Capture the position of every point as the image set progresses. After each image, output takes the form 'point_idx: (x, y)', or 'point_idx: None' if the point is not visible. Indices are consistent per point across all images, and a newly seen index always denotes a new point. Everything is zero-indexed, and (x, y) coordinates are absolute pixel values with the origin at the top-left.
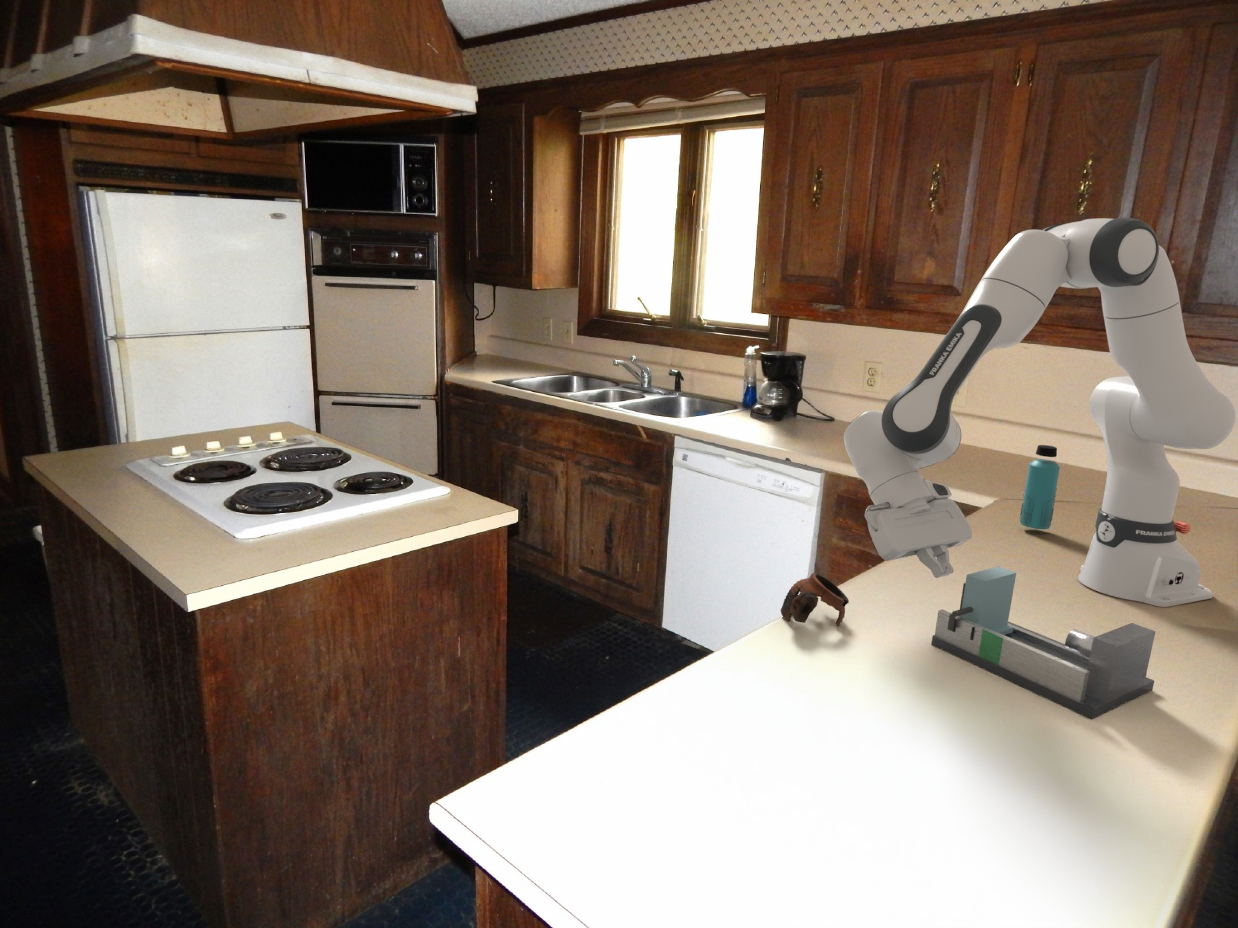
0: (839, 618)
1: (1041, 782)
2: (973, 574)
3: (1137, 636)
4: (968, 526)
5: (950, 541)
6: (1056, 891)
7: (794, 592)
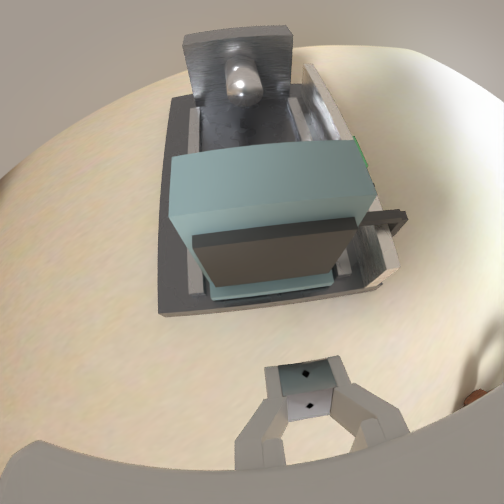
0: (481, 390)
1: (415, 86)
2: (351, 187)
3: (226, 29)
4: (12, 470)
5: (198, 470)
6: (445, 69)
7: None
